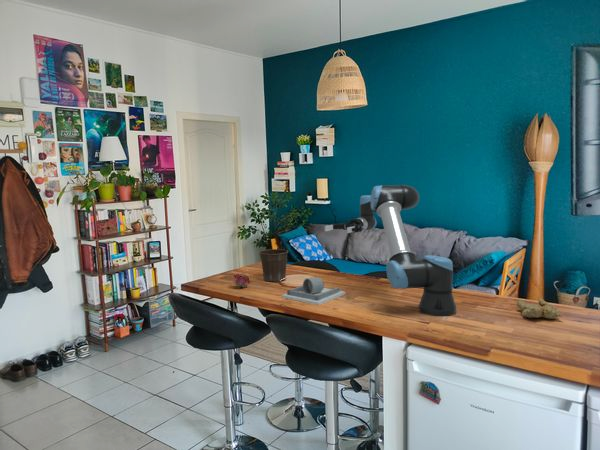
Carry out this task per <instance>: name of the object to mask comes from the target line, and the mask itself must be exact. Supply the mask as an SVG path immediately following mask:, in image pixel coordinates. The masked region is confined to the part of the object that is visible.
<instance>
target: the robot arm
mask: <svg viewBox="0 0 600 450" xmlns="http://www.w3.org/2000/svg"><path fill="white" fill-rule="evenodd" d="M419 201H420V194H419V192H418V191H417V189H416V188H414V187H413V186H410V185H409V184H408V185H407V184H400V185H399V184H398V185H397V184H396V185H395V184H394V185H393V184H391V185H389V184H388V185H386V184H385V185H382V184H381V185H375V186H374V187H373V188H372V189H371V194H369V195H368V194H367V195H365V194H364V195H361V196H360V198H359V217H357V218H353V219H350V221H348V222H342V223H340V222H339V223H332V224H331V223H329V224H327V225H324V232H330V231H331V232H332V231H334V230H344V231H345V230H346V233H347V234H350V233H362V232H364V231H368V230H372V229H375V228H376V227H377V223H378V222H377V219H376V217H375V215H374V213H376V215H377V216H378V217H380V218H381V222H382V226H383V229H384V234H385V237H386V242H387V245H388V246H387V247H388V250H389V253H390V257H389V258H388V261H387V263H386V267H385V269H386V270H385V271H386V278H387V279H388V280H387V281H388V282H389V284H390V285H391V287H393V288H394V289H403V290H405V289H419V288H421V289H422V288H423V293H422V296H421V299H420V302H419V305H418V310H419V312H421V313H422V314H425V315H429V316H436V317H438V316H439V317H447V316H452V315H455V314H456V313H457V305H456V302H455V298H454V295H453V284H454V283H453V282H454V279H453V278H454V275H453V274H454V267H453V266H454V264H453V261H452V259H450V258H448V257H444V256H439V255H432V254H431V255H430V254H427V255H424V256H423V259H418V258H417V255H416V254H415V253H414V252H413V251H412V250H411V248H410V244H409V241H408V238H407V234H406V231H405V227H404V223H403V220H402V217H401V211H402V210H409V209H412V208H414V207H416V206H417V205H418V203H419Z"/></svg>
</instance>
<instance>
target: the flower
mask: <svg viewBox="0 0 600 450" xmlns="http://www.w3.org/2000/svg"><path fill="white" fill-rule="evenodd" d="M233 276H234V281H233V283H234V285H235V286H238V290H240V289H241V288H248V287H247V286H248V285H250V282H251V281H250V277H249V276H248V275H246V274H245V273H236V274H233Z"/></svg>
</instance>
